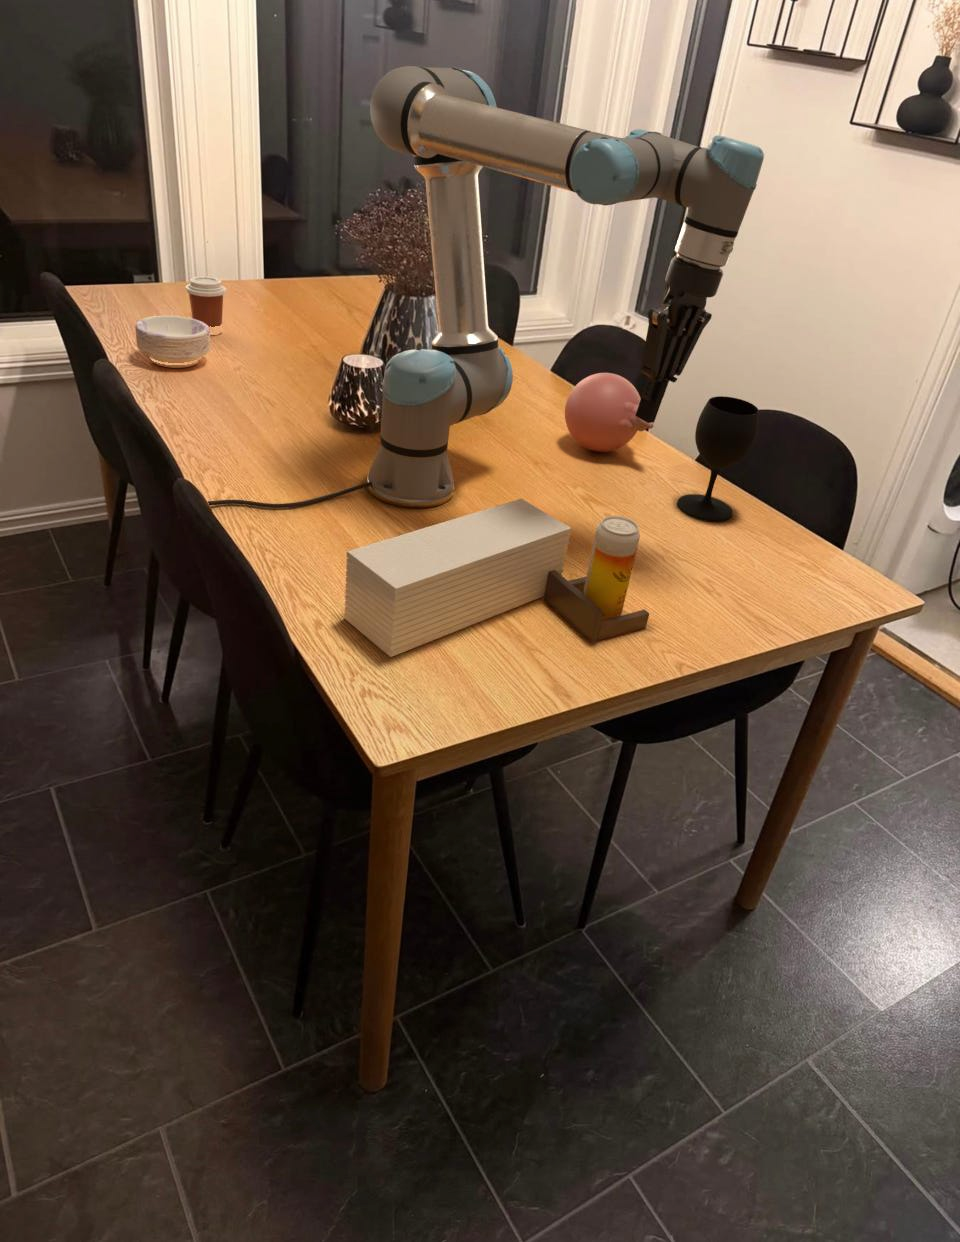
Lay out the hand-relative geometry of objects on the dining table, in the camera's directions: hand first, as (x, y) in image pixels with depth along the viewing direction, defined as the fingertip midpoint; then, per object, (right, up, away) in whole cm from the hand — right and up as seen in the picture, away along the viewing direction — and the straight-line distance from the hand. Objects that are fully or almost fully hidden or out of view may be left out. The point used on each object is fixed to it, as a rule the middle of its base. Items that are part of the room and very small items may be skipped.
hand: (644, 418), depth 141 cm
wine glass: (+16, -10, +29) cm, 35 cm away
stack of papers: (-29, -29, -7) cm, 41 cm away
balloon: (0, +3, +46) cm, 46 cm away
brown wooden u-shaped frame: (-8, -30, -5) cm, 31 cm away
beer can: (-8, -30, -5) cm, 32 cm away
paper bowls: (-92, +26, +61) cm, 113 cm away
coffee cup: (-90, +38, +79) cm, 126 cm away
